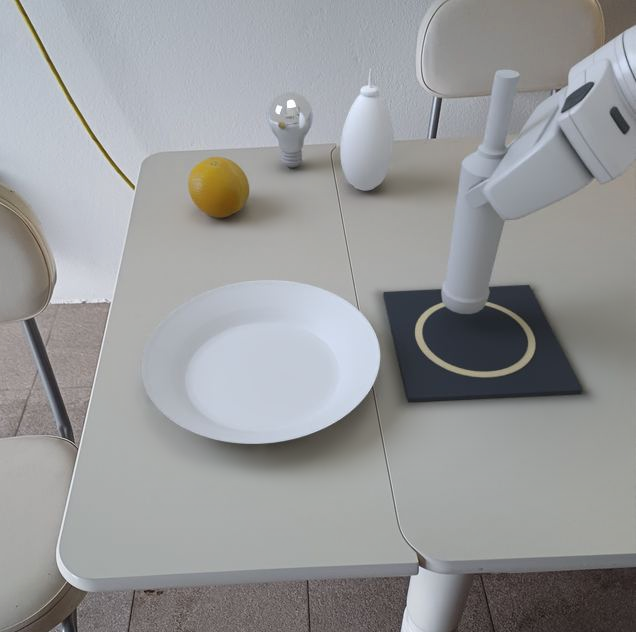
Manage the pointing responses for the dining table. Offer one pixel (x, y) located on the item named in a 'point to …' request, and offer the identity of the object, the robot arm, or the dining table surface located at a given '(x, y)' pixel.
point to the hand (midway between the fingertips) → (479, 185)
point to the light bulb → (290, 125)
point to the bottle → (479, 209)
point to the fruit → (218, 187)
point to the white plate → (260, 361)
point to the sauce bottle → (367, 140)
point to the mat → (477, 347)
